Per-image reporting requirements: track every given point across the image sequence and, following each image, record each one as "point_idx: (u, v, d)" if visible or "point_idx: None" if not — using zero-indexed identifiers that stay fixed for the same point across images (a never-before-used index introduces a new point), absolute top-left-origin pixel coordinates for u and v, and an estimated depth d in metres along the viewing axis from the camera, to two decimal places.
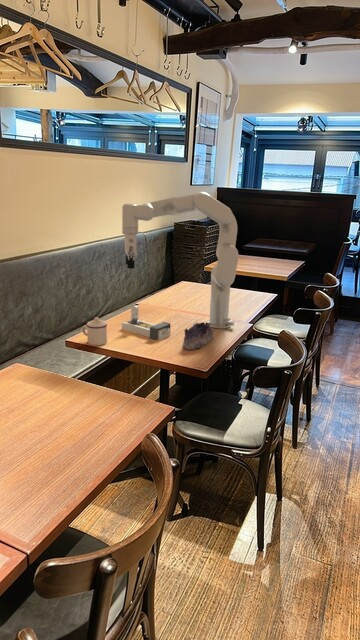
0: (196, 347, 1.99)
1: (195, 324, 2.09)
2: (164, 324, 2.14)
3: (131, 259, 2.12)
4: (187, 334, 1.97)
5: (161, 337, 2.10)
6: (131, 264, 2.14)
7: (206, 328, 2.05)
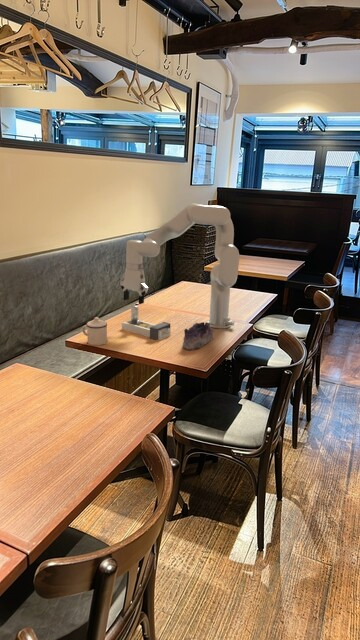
0: (196, 347, 1.99)
1: (195, 324, 2.09)
2: (164, 324, 2.14)
3: (144, 294, 2.14)
4: (187, 334, 1.97)
5: (161, 337, 2.10)
6: (143, 299, 2.15)
7: (206, 328, 2.05)
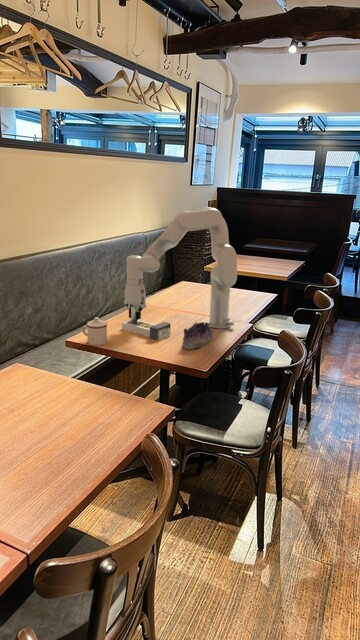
0: (195, 347, 1.99)
1: (194, 324, 2.09)
2: (164, 324, 2.14)
3: (140, 310, 2.18)
4: (186, 334, 1.97)
5: (161, 337, 2.10)
6: (139, 315, 2.19)
7: (205, 328, 2.05)
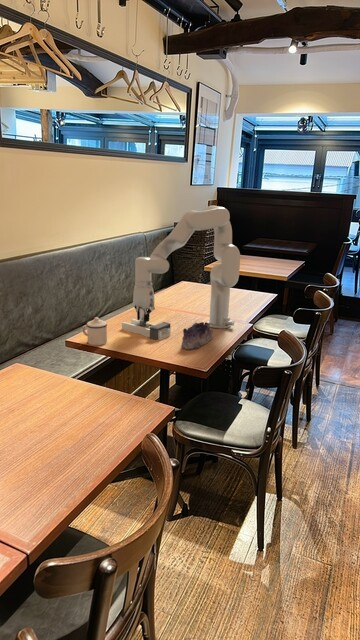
0: (194, 347, 1.99)
1: (194, 324, 2.09)
2: (164, 324, 2.14)
3: (149, 313, 2.15)
4: (185, 334, 1.98)
5: (161, 337, 2.10)
6: (148, 317, 2.16)
7: (205, 328, 2.05)
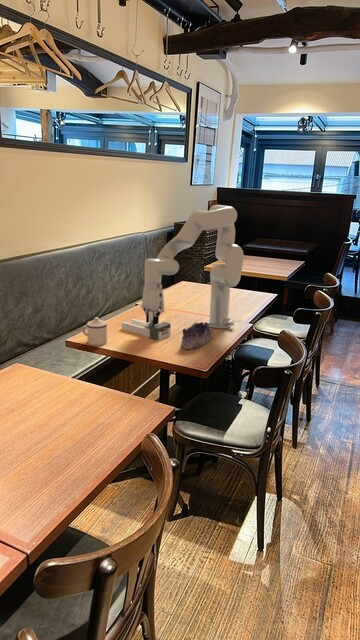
0: (194, 347, 1.99)
1: (194, 324, 2.09)
2: (164, 324, 2.14)
3: (158, 315, 2.12)
4: (185, 334, 1.98)
5: (161, 337, 2.10)
6: (157, 320, 2.13)
7: (205, 328, 2.05)
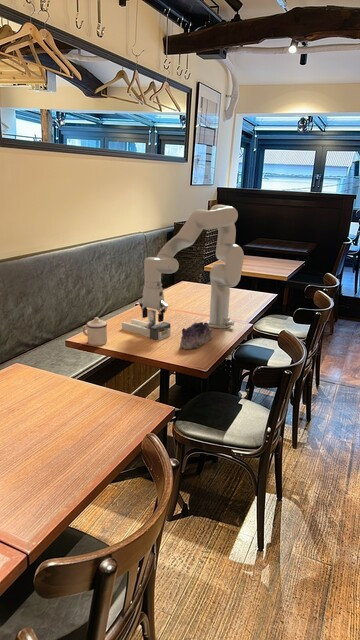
0: (193, 347, 1.99)
1: (193, 324, 2.09)
2: (164, 324, 2.14)
3: (163, 312, 2.10)
4: (184, 334, 1.98)
5: (161, 337, 2.10)
6: (162, 317, 2.11)
7: (204, 328, 2.05)
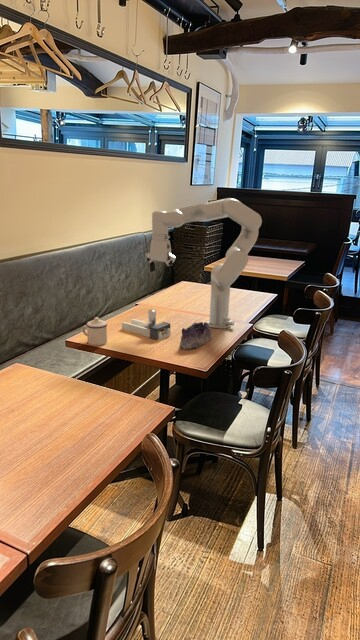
0: (193, 347, 1.99)
1: (193, 324, 2.09)
2: (164, 324, 2.14)
3: (171, 264, 2.17)
4: (184, 334, 1.98)
5: (161, 337, 2.10)
6: (170, 269, 2.18)
7: (204, 328, 2.05)
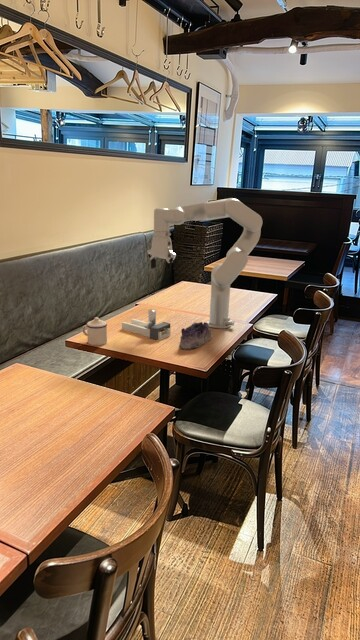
0: (192, 347, 1.99)
1: (193, 324, 2.09)
2: (164, 324, 2.14)
3: (171, 261, 2.19)
4: (183, 333, 1.98)
5: (161, 337, 2.10)
6: (170, 266, 2.20)
7: (203, 328, 2.05)
